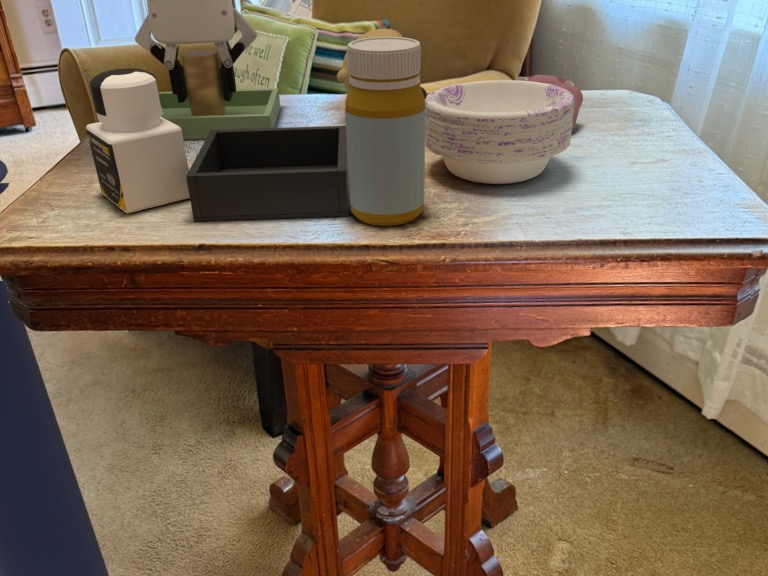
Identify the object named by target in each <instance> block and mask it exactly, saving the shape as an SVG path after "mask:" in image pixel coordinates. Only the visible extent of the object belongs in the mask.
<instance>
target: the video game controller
mask: <svg viewBox="0 0 768 576" xmlns="http://www.w3.org/2000/svg"><path fill="white" fill-rule="evenodd" d="M515 80H519V81H532V82H539V83H546V84H551V85H555V86H559V87H561V88H564V89H566V90H568V91H569V92H570V93H572V95H573V96H574V102H575V105H574V112H573V118H572V121H573V122H572V130H573V129H574V127H575V125H576V123H577V119H578V116H579V113H580V109H581V106H582V105H583V101H584V95H583V91H581V89H580V88H579V87H578V86H577V85H576V84H575V83H574V82H573V81H570V80H567V79H565V78H562V77H559V76H556V75H550V74H549V75H547V74H534V75H531V76H518V77H517V78H516V79H515Z"/></svg>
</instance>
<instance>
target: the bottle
mask: <svg viewBox="0 0 768 576" xmlns="http://www.w3.org/2000/svg"><path fill="white" fill-rule="evenodd" d="M346 48H347V49H346V52H348V70H349V73H350V74H349V83H350V86H349V90H348V93H347V92H346V93H347V94H346V98H345V100H344V104H345V105H344V106H345V107H344V113H345V115H344V116H345V126H346V136H347V157H348V177H349V196H348V199H349V208H350V211H351V213H352V214H353V215H354V216H355V218H357V219H358V220H359V221H360V222H363V223H365V224H368V225H373V226H379V227H380V226H381V227H390V226H391V227H392V226H400V225H404V224H405V225H406V224H408V223H410V222H412V221H414V220H416V219H417V218H418V217H419V216H420V214H421V213H422V212H423V211H424V208H425V188H426V187H425V186H426V185H425V181H426V180H425V179H426V177H425V173H426V172H425V171H426V165H425V164H426V144H425V99H424V95H423V92H422V89H421V87H422V86H421V85H420V83H419V82H421V72H420V71H421V65H422V64H421V63H422V62H421V60H422V52H421V51H422V47H421V42H420V41H419V40H417V39H414V38H409V37H404V36H402V37H373V38H364V39H359V40H356V39H355V40H351V41H349V42H348V43H347V47H346Z"/></svg>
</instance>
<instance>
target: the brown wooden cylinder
mask: <svg viewBox="0 0 768 576" xmlns="http://www.w3.org/2000/svg"><path fill="white" fill-rule="evenodd" d="M181 60H182V66H183V68H184V74H185V80H186V87H187V92H188V98H189V104H190V110H191V116H213V115H226V111H225V104H224V97H223V90H222V82H221V75H220V68H221V67H220V62H219V61H220V60H219V53H218V51H217V50H214V49H193V50H192V49H191V50H187V51H184V52H182V53H181Z"/></svg>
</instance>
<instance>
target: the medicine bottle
mask: <svg viewBox="0 0 768 576" xmlns="http://www.w3.org/2000/svg"><path fill="white" fill-rule="evenodd" d="M89 87H90V93H91V95H92V101H93V104H94V109H95V112H96V113H95V114H96V118H97V120H98V121H97V122H93V123H89V124H87V125H86V126H85V131H86V134H87V139H88V142H89V147H90V151H91V155H92V159H93V163H94V167H95V171H96V175H97V179H98V183H99V187H100V192H101V194H102V195H103V196H104V197H106V199H108V200H109V201H111V202H112V204H114V205H115V206H117V207H118V208H119V209H120V210H122V211H123V212H124V213H125V214H132V213H135V212H139V211H140V212H141V211H143V210H147V209H151V208H154V207H155V208H156V207H160V206H164V205H168V204H172V203H176V202H180V201H184V200H187V199H190V196H189V190H188V185H187V179H186V175H187V174H188V172H189V170H190V168H189V163H188V158H187V154H186V147H185V140H183V135H182V130H181V128H180V127H179V126H177V125H175V124H173V123H172V122H170V121H168V120H166V119H164V118H162V117H160V116H162V114H163V112H162V106H161V101H160V95H159V92H160V90H159V85H158V80H157V77H156V75H154V73H152V72H150V71H148V70H145V69H142V68H134V67H133V68H132V67H130V68H116V69H109V70H106V71H103V72H99V73H98V74H96V75H95V76H94V77H93V78H91V80H90V82H89Z"/></svg>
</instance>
